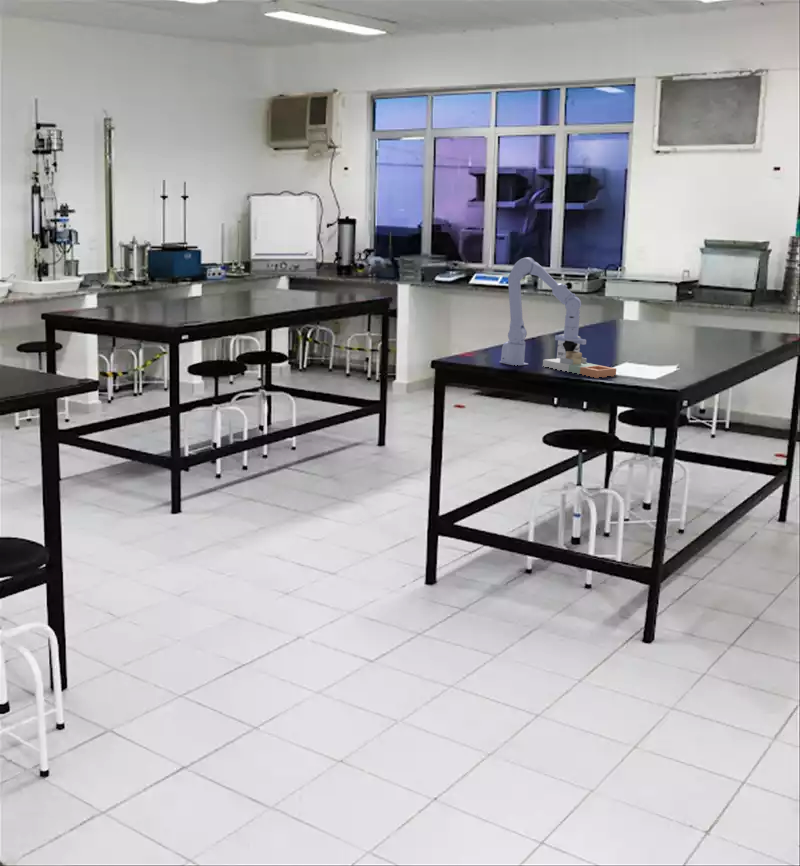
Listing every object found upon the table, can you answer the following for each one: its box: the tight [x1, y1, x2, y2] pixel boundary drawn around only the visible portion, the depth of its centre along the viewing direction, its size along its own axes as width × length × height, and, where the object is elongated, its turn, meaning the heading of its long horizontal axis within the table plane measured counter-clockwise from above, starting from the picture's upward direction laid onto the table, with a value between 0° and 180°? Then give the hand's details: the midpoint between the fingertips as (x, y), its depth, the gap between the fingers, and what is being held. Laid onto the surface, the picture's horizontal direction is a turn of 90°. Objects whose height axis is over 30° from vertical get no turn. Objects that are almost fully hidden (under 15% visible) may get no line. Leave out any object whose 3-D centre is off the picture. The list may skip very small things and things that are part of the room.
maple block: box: [566, 351, 583, 364], centre depth 416 cm, size 4×4×4 cm
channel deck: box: [542, 357, 617, 379], centre depth 416 cm, size 28×12×5 cm, turn 40°
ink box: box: [556, 333, 581, 359], centre depth 437 cm, size 9×5×12 cm, turn 53°
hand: (568, 359), depth 420 cm, fingers closed
